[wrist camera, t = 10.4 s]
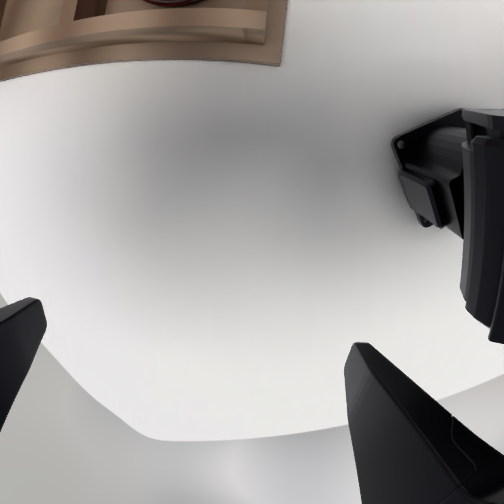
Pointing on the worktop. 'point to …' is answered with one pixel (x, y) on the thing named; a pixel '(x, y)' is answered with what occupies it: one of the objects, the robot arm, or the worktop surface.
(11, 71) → the rack
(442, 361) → the worktop surface
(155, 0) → the soda can
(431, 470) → the robot arm
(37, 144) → the worktop surface
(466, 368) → the worktop surface
